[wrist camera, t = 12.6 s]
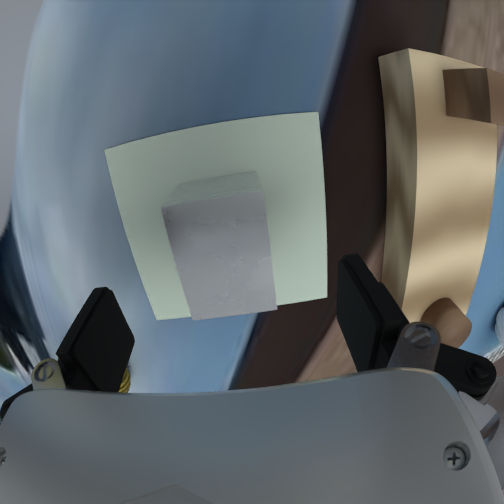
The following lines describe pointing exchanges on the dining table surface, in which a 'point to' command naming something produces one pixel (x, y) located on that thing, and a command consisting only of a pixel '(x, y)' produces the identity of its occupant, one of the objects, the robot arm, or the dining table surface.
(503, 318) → the water bottle
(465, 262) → the hand plane
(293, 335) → the dining table surface
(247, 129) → the mat
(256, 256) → the grey block
